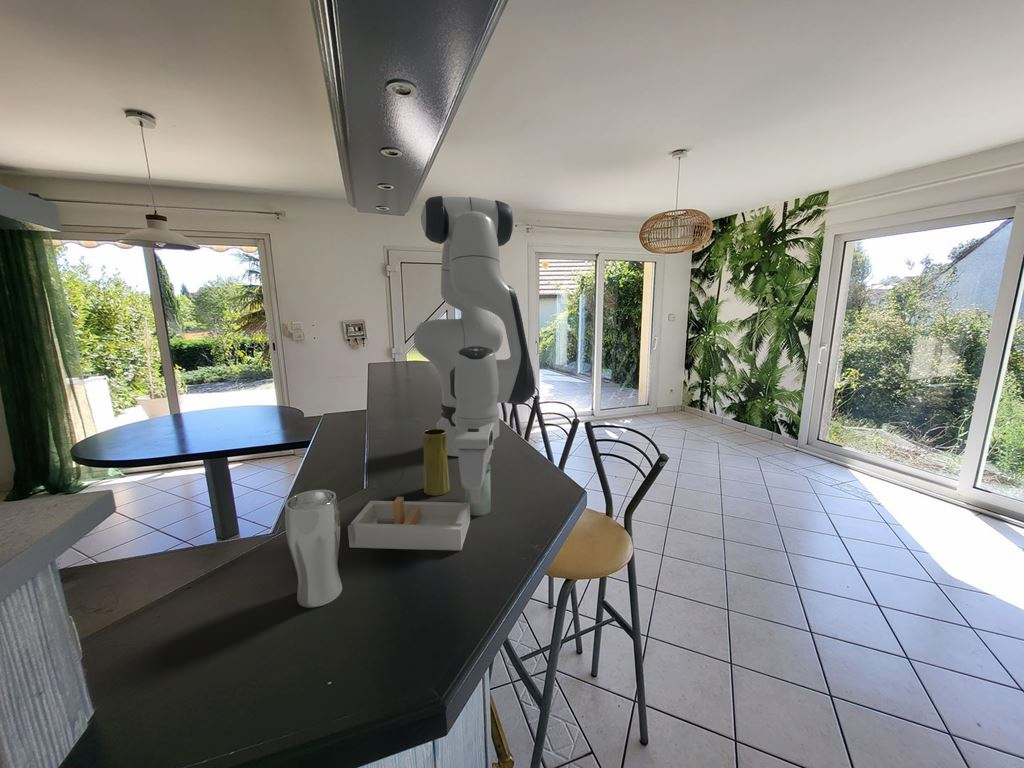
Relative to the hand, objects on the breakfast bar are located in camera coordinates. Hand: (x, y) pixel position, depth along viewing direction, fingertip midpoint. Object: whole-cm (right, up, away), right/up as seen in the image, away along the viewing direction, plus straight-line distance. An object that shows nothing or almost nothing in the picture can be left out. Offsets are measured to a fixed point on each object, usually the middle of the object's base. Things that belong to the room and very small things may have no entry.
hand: (479, 491), depth 85 cm
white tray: (-12, -6, -8) cm, 15 cm away
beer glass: (-22, -9, -25) cm, 34 cm away
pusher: (-15, -4, -8) cm, 18 cm away
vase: (-11, -3, +10) cm, 15 cm away
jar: (0, -4, +1) cm, 4 cm away
